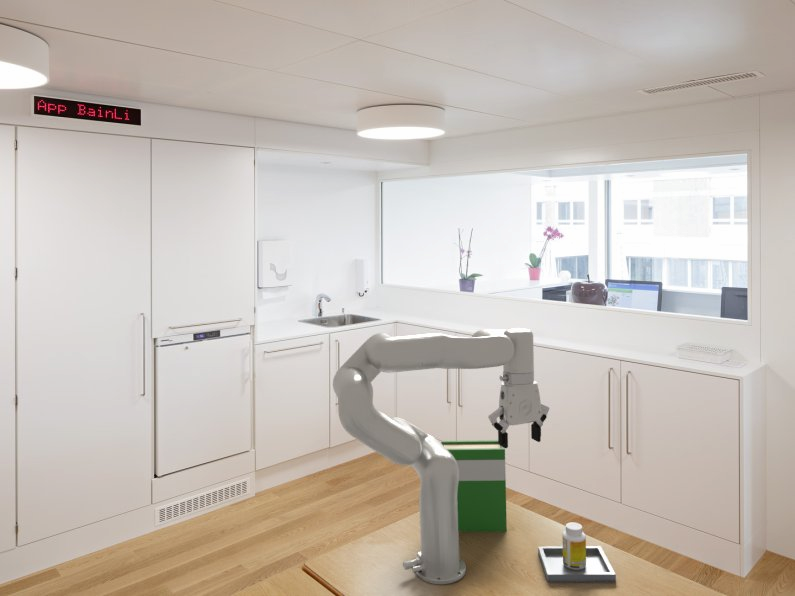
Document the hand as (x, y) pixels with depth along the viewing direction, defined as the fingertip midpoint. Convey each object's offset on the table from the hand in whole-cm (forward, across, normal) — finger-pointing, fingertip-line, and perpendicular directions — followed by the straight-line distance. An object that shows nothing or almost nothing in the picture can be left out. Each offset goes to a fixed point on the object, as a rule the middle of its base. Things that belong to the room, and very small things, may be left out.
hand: (519, 443), depth 151 cm
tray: (+30, +9, -10) cm, 33 cm away
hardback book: (+31, -3, +20) cm, 37 cm away
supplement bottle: (+30, +9, -10) cm, 33 cm away
